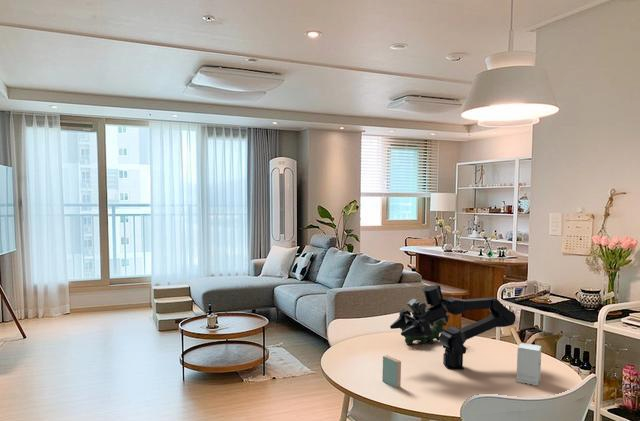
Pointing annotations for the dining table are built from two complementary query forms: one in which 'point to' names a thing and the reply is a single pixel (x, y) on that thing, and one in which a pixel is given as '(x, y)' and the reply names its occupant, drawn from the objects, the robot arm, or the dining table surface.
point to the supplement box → (528, 363)
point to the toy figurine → (435, 330)
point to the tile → (391, 371)
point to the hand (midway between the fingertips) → (395, 330)
